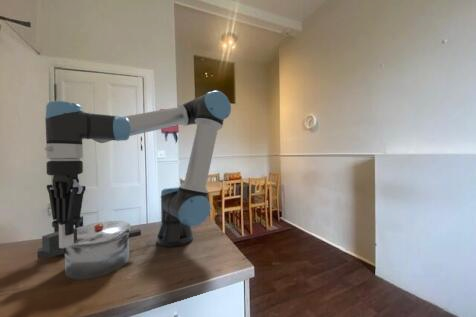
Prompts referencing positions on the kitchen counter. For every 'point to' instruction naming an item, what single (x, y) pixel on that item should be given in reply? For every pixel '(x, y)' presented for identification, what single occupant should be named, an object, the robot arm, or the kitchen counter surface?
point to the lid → (89, 235)
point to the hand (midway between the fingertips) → (66, 245)
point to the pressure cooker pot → (94, 257)
